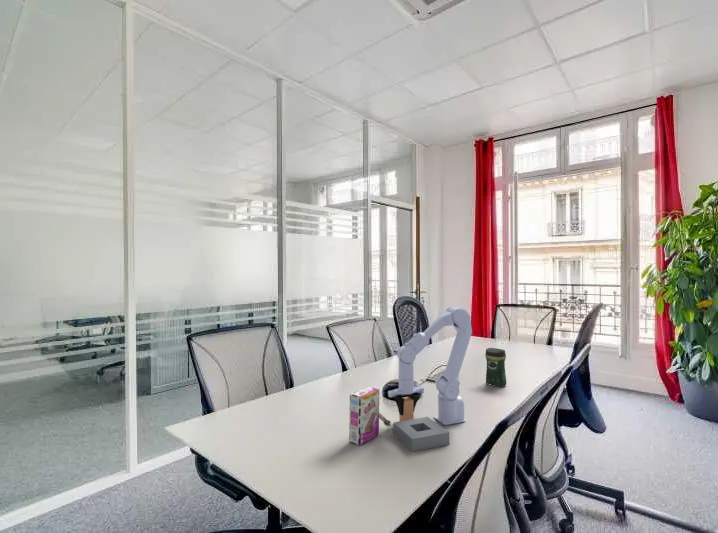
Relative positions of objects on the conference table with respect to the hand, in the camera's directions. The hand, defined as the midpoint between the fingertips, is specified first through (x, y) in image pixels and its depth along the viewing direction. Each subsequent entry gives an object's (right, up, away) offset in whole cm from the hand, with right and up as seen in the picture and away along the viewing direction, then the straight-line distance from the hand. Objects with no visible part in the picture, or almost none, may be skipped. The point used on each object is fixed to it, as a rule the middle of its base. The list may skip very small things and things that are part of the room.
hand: (406, 413), depth 140 cm
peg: (0, -3, 0) cm, 3 cm away
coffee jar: (+52, -4, +46) cm, 70 cm away
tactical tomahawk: (-11, -4, +7) cm, 14 cm away
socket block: (+3, -3, -14) cm, 15 cm away
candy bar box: (-16, -4, -14) cm, 21 cm away
